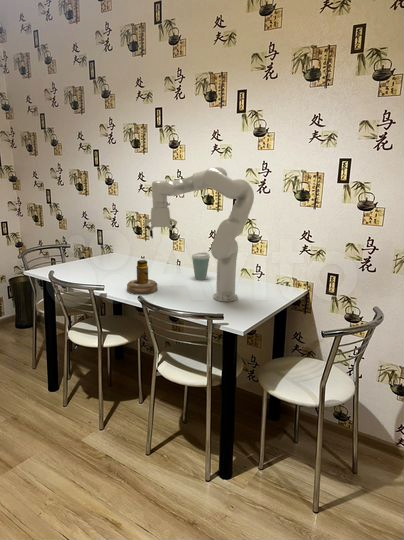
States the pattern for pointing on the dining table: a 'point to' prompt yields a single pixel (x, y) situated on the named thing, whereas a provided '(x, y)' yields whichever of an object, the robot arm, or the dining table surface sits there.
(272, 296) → the dining table surface
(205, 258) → the disposable coffee cup
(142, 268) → the condiment
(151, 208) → the robot arm
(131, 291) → the walnut stand
